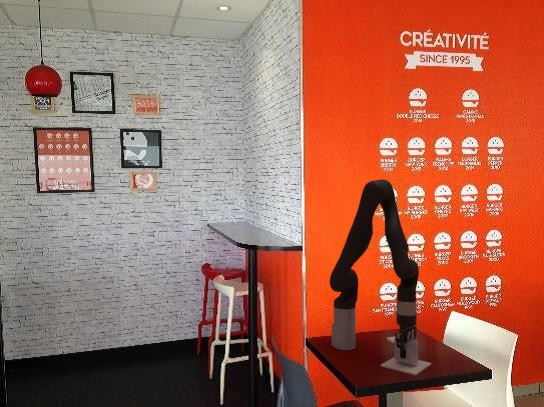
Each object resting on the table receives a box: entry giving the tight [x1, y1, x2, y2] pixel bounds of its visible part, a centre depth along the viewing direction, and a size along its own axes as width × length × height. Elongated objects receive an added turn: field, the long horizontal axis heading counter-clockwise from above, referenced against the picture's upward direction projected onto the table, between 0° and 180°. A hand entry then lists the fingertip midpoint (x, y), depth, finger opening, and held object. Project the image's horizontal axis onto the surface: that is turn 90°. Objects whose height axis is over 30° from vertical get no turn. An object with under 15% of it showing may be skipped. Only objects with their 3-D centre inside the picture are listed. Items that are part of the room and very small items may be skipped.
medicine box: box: [393, 338, 419, 365], centre depth 190 cm, size 8×4×9 cm, turn 41°
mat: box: [380, 356, 432, 376], centre depth 190 cm, size 14×14×1 cm
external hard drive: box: [386, 336, 420, 348], centre depth 216 cm, size 2×8×12 cm
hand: (406, 355), depth 190 cm, fingers closed on medicine box, 4 cm apart
